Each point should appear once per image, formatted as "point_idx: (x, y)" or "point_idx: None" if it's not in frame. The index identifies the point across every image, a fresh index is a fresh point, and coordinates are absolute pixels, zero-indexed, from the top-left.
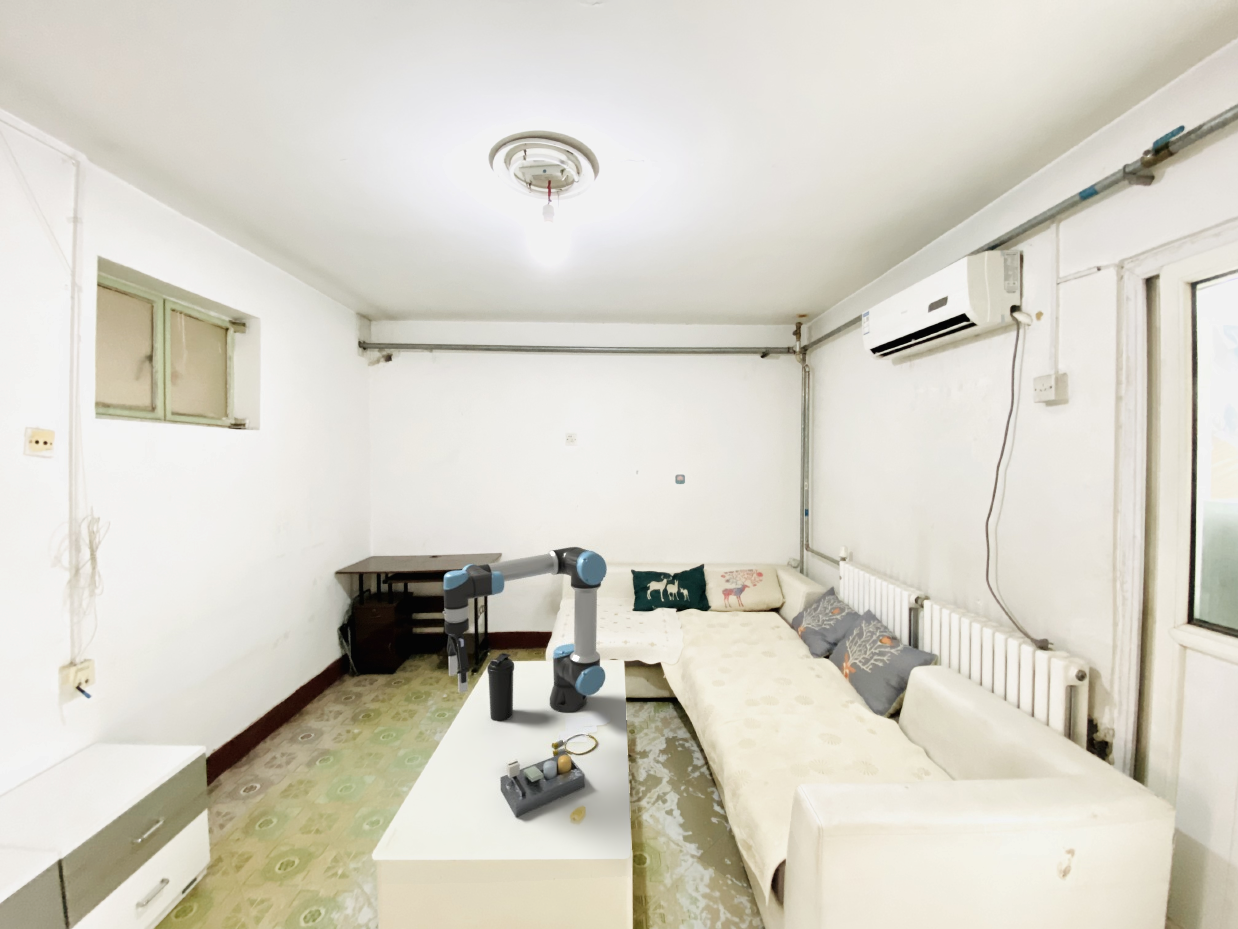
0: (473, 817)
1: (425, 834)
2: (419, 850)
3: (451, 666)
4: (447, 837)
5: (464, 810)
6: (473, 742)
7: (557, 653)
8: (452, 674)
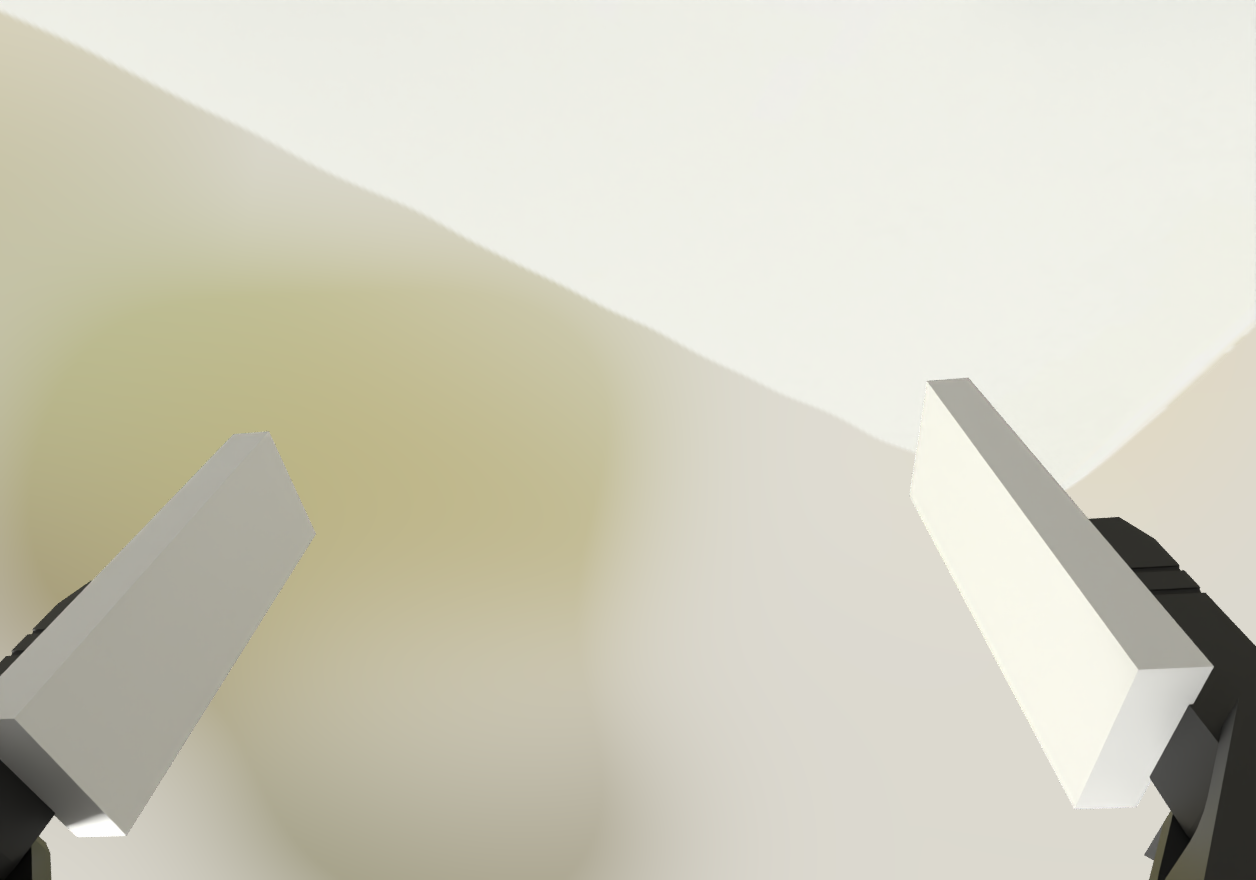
0: (1116, 173)
1: (1045, 384)
2: (1113, 409)
3: (227, 623)
4: (1139, 306)
5: (1030, 209)
6: (422, 50)
7: None
8: (292, 511)
